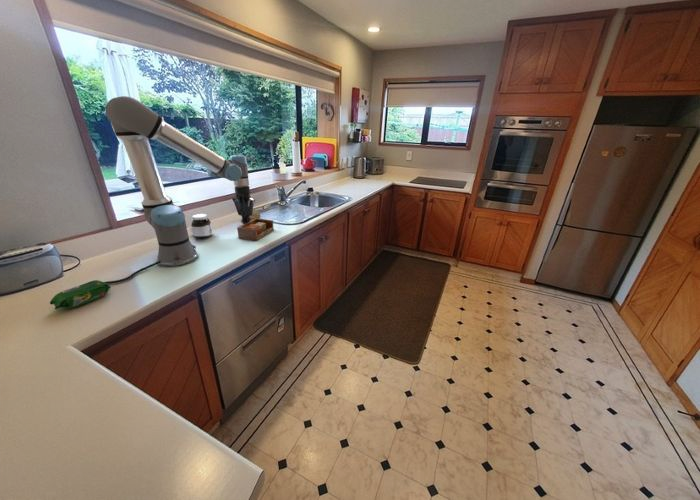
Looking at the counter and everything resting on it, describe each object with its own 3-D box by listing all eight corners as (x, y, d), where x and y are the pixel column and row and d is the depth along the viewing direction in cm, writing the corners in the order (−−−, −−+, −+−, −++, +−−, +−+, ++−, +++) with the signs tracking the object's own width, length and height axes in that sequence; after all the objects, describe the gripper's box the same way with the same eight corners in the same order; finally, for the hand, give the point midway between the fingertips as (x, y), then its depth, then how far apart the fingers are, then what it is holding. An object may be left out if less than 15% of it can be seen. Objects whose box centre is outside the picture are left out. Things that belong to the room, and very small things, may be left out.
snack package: (48, 309, 90) (42, 296, 88) (105, 287, 103) (100, 275, 101) (59, 316, 87) (52, 303, 85) (116, 292, 100) (111, 280, 98)
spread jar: (205, 240, 147) (202, 218, 143) (184, 239, 147) (180, 217, 143) (216, 232, 158) (213, 212, 154) (196, 231, 158) (192, 211, 154)
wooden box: (256, 240, 149) (255, 230, 146) (238, 238, 151) (237, 227, 149) (273, 230, 165) (273, 220, 162) (257, 227, 167) (256, 218, 165)
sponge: (258, 228, 170) (265, 212, 186) (253, 217, 166) (261, 201, 182) (237, 231, 171) (246, 215, 187) (232, 220, 166) (242, 204, 183)
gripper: (256, 185, 150) (260, 227, 160) (235, 183, 153) (240, 224, 163) (248, 188, 144) (253, 231, 154) (226, 185, 147) (232, 228, 157)
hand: (246, 227), depth 158 cm, fingers closed
